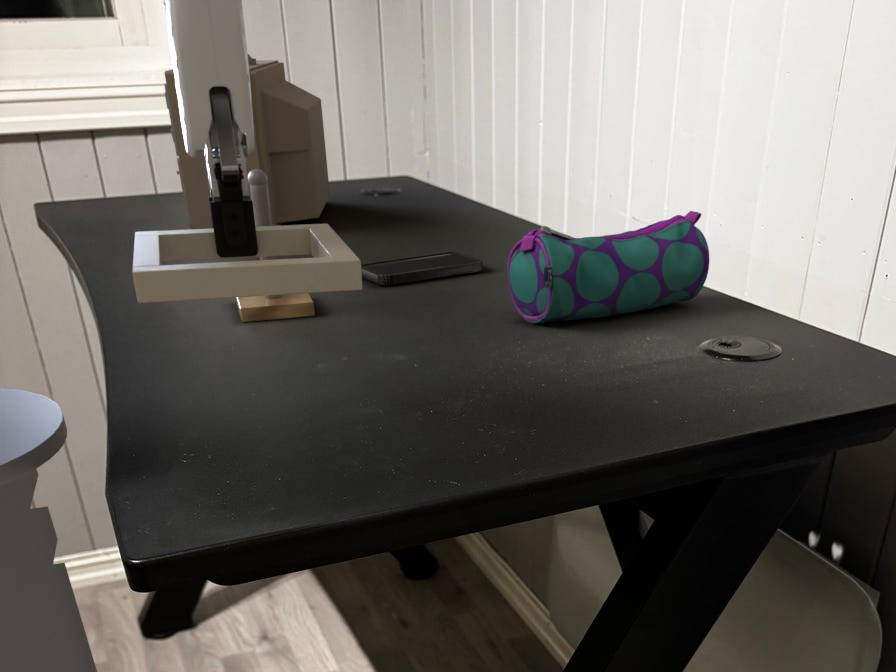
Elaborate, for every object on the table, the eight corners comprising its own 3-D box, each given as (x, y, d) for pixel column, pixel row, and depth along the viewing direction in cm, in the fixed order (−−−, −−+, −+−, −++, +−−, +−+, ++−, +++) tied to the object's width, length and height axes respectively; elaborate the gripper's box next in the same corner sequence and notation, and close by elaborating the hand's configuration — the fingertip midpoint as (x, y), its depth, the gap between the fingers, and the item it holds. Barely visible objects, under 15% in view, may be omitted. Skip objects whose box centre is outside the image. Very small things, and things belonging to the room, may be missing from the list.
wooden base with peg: (242, 322, 103) (219, 176, 95) (236, 304, 109) (215, 166, 101) (315, 315, 104) (299, 171, 96) (305, 298, 111) (289, 162, 103)
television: (222, 200, 173) (181, -71, 151) (333, 197, 174) (308, -73, 152) (182, 238, 143) (123, -93, 121) (316, 235, 144) (282, -95, 122)
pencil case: (542, 335, 97) (545, 236, 91) (505, 315, 103) (505, 221, 98) (708, 310, 104) (719, 216, 98) (663, 293, 110) (671, 204, 105)
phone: (354, 265, 120) (455, 250, 126) (355, 274, 120) (456, 259, 127) (381, 277, 114) (486, 261, 121) (382, 286, 115) (486, 270, 121)
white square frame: (137, 303, 62) (131, 272, 61) (139, 258, 75) (135, 231, 73) (362, 290, 66) (361, 260, 65) (329, 249, 78) (327, 223, 77)
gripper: (145, -23, 71) (186, 237, 81) (144, -34, 58) (192, 276, 68) (246, -21, 73) (273, 233, 83) (266, -31, 60) (295, 270, 70)
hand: (236, 251), depth 75 cm, fingers closed on white square frame, 1 cm apart
